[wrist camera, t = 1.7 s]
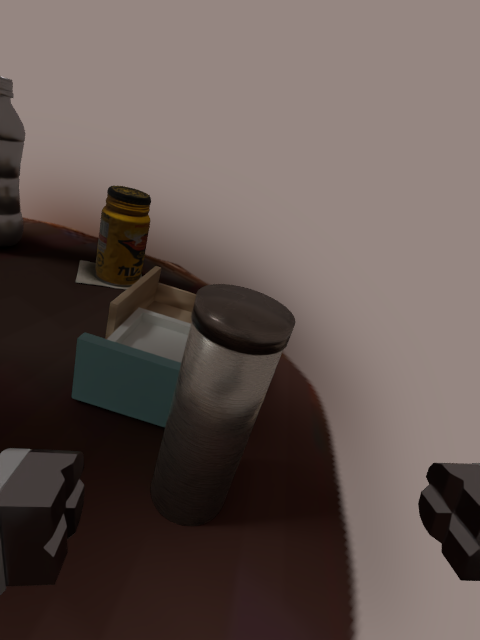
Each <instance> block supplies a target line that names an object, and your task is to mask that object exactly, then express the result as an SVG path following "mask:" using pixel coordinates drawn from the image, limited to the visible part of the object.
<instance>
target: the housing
mask: <svg viewBox="0 0 480 640" xmlns="http://www.w3.org/2000/svg"><path fill="white" fill-rule="evenodd" d="M160 272H161V267H158V266H155V267H154V268H153V269H152V270H150V271H149V272H148V273H147V274H145V275H144V276H143V277H142V278H140V279H139V280H138V281H137V282H135V283H134V284H133V285H132V286H131V287H129V288H128V289H127V290H126V291H124V292H123V293H122V294H121V295H119V296H118V297H117V298H116V299H114V300H113V301H112V302H111V303H110V309H109V316H108V323H107V331H106V338H105V339H107V338H108V337H109V336H110V335H111V334H112V333H113V332H114V331H115V330H116V329H117V328H118V327H119V326H120V325H122V324H123V323H124V322H125V321H126V320H127V319H128V318H129V317H130V316H131V315H132V314H133V313H134V312H135V311H136V310H137V309H138V308H139V307H140V308H143V309H146V310H149V311H152V312H155V313H159V314H162V315H165V316H168V317H171V318H174V319H178V320H181V321H184V322H187V323H190V324H191V322H192V320H191V314H192V310H193V306H194V302H195V298H196V294H194V293H190V292H187V291H184V290H181V289H178V288H175V287H171V286H168V285H165V284H162V283H159V277H160Z"/></svg>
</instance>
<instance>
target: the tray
mask: <svg viewBox="0 0 480 640" xmlns="http://www.w3.org/2000/svg"><path fill="white" fill-rule="evenodd" d="M190 326H191V324H190V323H187V322H184V321H181V320H178V319H174V318H171V317H168V316H165V315H162V314H159V313H155V312H152V311H149V310H146V309H143V308H140V307H139V308H138V309H137V310H136V311H135V312H134V313H133V314H132V315H131V316H130V317H129V318H128V319H127V320H126V321H125V322H124V323H123V324H122V325H120V326H119V327H118V328H117V329H116V330H115V331H114V332H113V333H112V334H111V335H110V336H109V337H108V338H107V339H104V338H101V337H98V336H95V335H91V334H88V333H83V334H82V335H81V336H80V337H79V338H78V339H77V349H76V359H75V369H74V379H73V389H72V398H73V399H76V400H79V401H82V402H86V403H89V404H92V405H95V406H98V407H101V408H105V409H108V410H111V411H114V412H117V413H120V414H124V415H127V416H130V417H133V418H136V419H139V420H143V421H146V422H149V423H152V424H155V425H158V426H162V427H165V426H166V422H167V418H168V414H169V410H170V406H171V402H172V398H173V394H174V390H175V386H176V382H177V378H178V374H179V370H180V366H181V362H182V358H183V354H184V350H185V346H186V342H187V338H188V334H189V330H190Z"/></svg>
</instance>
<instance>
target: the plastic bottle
mask: <svg viewBox="0 0 480 640" xmlns="http://www.w3.org/2000/svg"><path fill="white" fill-rule="evenodd" d="M12 85H13V83H12V80H10V79H7V78H4V77H1V76H0V246H2V247H3V246H12V245H15V244H17V243H18V242H19V241H20V239H21V238H22V234H23V229H24V227H23V219H22V214H21V212H20V197H19V175H20V163H21V158H22V151H23V145H24V140H25V130H24V127H23V124H22V122H21V120H20V118H19V116H18V114H17V113H16V111H15V109H14V108H13V106H12V104H11V101H10V98H13V93H12V87H13V86H12Z"/></svg>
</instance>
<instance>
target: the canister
mask: <svg viewBox="0 0 480 640" xmlns="http://www.w3.org/2000/svg"><path fill="white" fill-rule="evenodd" d="M191 320H192V322H191V326H190V330H189V334H188V338H187V342H186V346H185V350H184V354H183V358H182V362H181V366H180V370H179V374H178V378H177V382H176V386H175V390H174V394H173V398H172V402H171V406H170V410H169V414H168V418H167V422H166V426H165V430H164V434H163V438H162V442H161V446H160V450H159V454H158V458H157V462H156V466H155V470H154V474H153V478H152V482H151V489H150V492H151V498H152V501H153V504H154V506H155V507H156V509H157V510H158V511H159V513H160V514H162V515H163V516H164V517H165V518H166V519H168V520H170V521H172V522H174V523H176V524H179V525H184V526H197V525H201V524H204V523H207V522H209V521H210V520H212V519H213V518H214V517H216V516H217V514H218V513H219V512H220V510H221V508H222V506H223V504H224V501H225V498H226V496H227V493H228V491H229V488H230V486H231V483H232V480H233V478H234V475H235V473H236V470H237V467H238V465H239V462H240V460H241V457H242V454H243V452H244V449H245V447H246V444H247V441H248V439H249V436H250V434H251V431H252V429H253V426H254V423H255V421H256V418H257V416H258V413H259V410H260V408H261V405H262V403H263V400H264V397H265V395H266V392H267V390H268V387H269V385H270V382H271V379H272V377H273V374H274V372H275V369H276V366H277V364H278V361H279V359H280V356H281V353H282V351H283V349H284V348H285V347H286V346H287V343H288V341H289V338H290V336H291V333H292V330H293V328H294V325H295V318H294V316H293V314H292V313H291V312H290V311H289V310H288V309H287V308H286V307H285V306H283V305H282V304H281V303H279V302H278V301H276V300H275V299H273V298H271V297H269V296H267V295H264V294H262V293H260V292H257V291H254V290H251V289H248V288H244V287H240V286H234V285H225V284H213V285H208V286H204V287H202V288H201V289H199V290H198V292H197V294H196V298H195V302H194V306H193V310H192V314H191Z"/></svg>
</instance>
